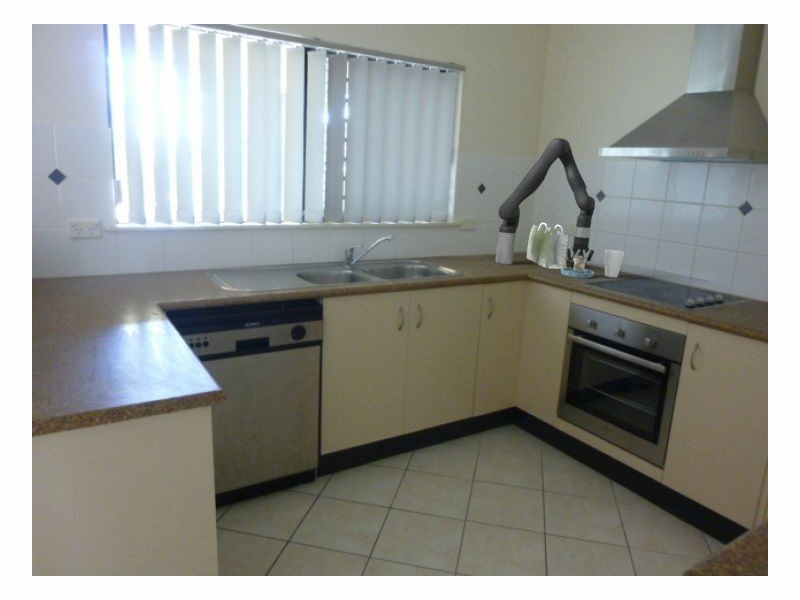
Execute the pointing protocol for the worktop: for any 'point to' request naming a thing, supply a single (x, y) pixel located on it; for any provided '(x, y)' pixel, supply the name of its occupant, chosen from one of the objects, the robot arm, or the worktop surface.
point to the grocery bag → (547, 246)
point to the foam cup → (613, 262)
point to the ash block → (579, 264)
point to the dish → (577, 273)
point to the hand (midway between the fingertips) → (577, 268)
